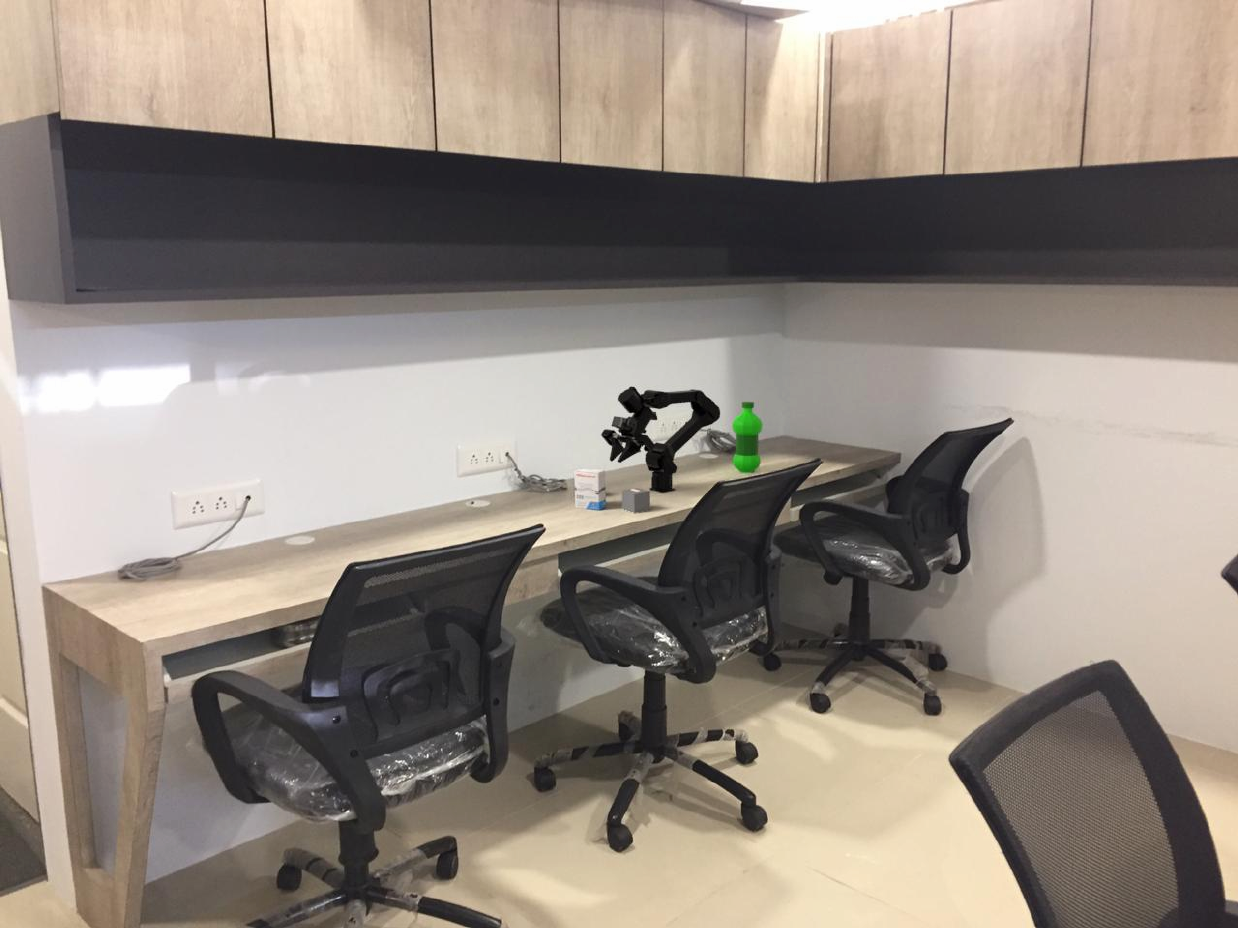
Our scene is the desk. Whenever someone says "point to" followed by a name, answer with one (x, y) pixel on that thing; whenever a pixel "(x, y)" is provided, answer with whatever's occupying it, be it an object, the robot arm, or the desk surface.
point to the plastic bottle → (747, 439)
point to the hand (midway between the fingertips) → (614, 461)
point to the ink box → (590, 489)
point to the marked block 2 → (636, 500)
